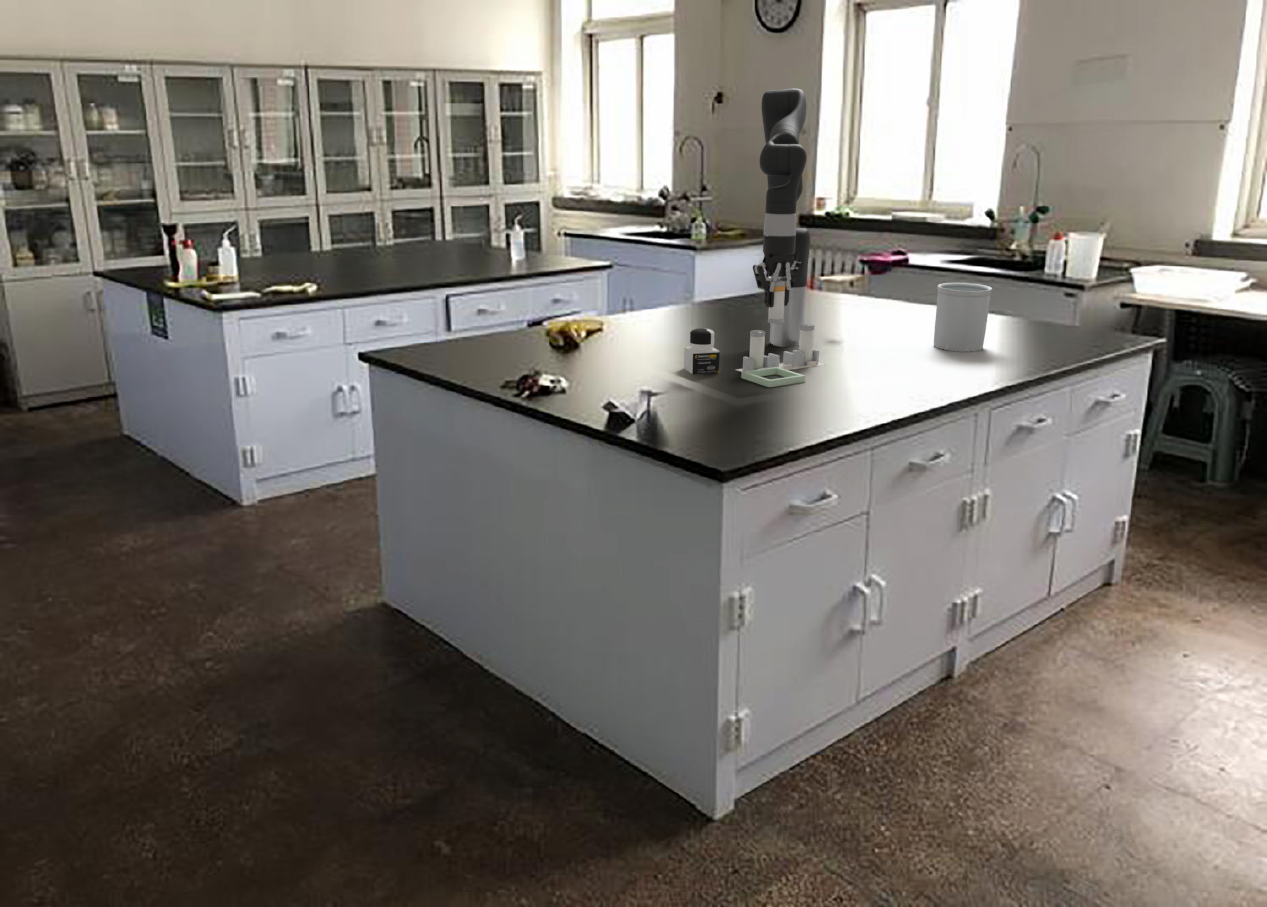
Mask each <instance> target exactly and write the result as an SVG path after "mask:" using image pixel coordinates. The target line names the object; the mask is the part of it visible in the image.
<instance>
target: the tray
mask: <svg viewBox="0 0 1267 907" xmlns="http://www.w3.org/2000/svg"><path fill="white" fill-rule="evenodd" d="M740 375H741V376H740V378H741V379H743V380H746V381H749V382H752V383H755V384H758V385H761V386H763V387H766V388H773V387H780V386H786V385H792V384H793V385H795V384H800V383H805V382H806V375H805V374H801V373H797V372H795V371H793V370H792V371H791V370H785V369H782V368H779V367H772V368H765V369H758V370H751V371H744V372H741V374H740ZM773 375H777V376H780V378H779V377H778V378H773V379H769V378H766V377H765V376H773Z"/></svg>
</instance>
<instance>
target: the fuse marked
mask: <svg viewBox="0 0 1267 907" xmlns="http://www.w3.org/2000/svg"><path fill="white" fill-rule="evenodd" d="M785 282H786V281H784V280H777V282H776V283H775V286H774V290H773V291H772V292H774V305H773V307H768V314H767V315H768V318H767V323H769V324H770V323H772V324H781V323H784V298H785Z"/></svg>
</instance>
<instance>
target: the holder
mask: <svg viewBox="0 0 1267 907" xmlns="http://www.w3.org/2000/svg"><path fill="white" fill-rule="evenodd" d="M767 354H768V355H765V354H764V366H763V367H764V368H760V369H765V368H772V367H779V368H782V369H785V370H789V371H791V370H792V371H793V370H798V369H805V368H811V367H813V368H814V367H819V366H826V365H827V364H825V363H821V362H819V358H820V350H819V349H814V348H813V359H812V360H813V361H810V362H807V365H803V364H804V352H801V351H799V350H797V349H794V350H792V352H791V351H786V350H785V351H783V358H782V359H783V360H782V361H783V362H781V363H780V358H781V357H780V355H779V354H775V353H771V352H770V353H767ZM751 370H754V359H752V358H750V356H749V357H748V356H743V357H742V368H738V369H736V368H735V371H738V372H744V371H751Z"/></svg>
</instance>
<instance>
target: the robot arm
mask: <svg viewBox="0 0 1267 907" xmlns="http://www.w3.org/2000/svg"><path fill="white" fill-rule="evenodd" d="M806 98H807V97H806V94H805V93H804V91H803V90H802V89H799V88H784V89H773V90H771V89H770V90H767V91H765V92H764V93H763V95H762V98H761V117H762V125H763V131H764V132H763V133H764V140H765V145H764V146H763V148H762V150H761V152H760V156H759V168H760V170H761V171H762V173H763V174H765V175H766V179H767V191H766V194H765V195H766V196H765V215H764V219H763V220H764V221H763V239H762V253H763V259H762V260H761V263H759V264H753V265H752V271H753V274H754V279H755V282H756V286H757V288H758V289H759V290H763V291H764V301H763V303H764V305H765V307H767V308H769V307H773V305H774V292H772V291H773V290H774V286H775V283H776V282H777V280H784V281H786V282H785V298H784V323H781V324H772V323H769V325H770V326H769V327H770V328H769V343H770V344H771V345H772V344H773V345H772V346H775V347H778V348H779V347H780V348H783V347H784V348H785V347H792V346H793V347H794V346H799V340H800V325H803V324H806V307H807V306H806V305H807V304H806V303H807V286H808V270H809V258H810V251H811V250H810V249H811V233H810V231H809V229H807V228H804V227H802V228H801V227H797V218H796V217H797V216H796V215H797V214H796V213H797V201H798V200H799V199H800V197H801V195H802V193H803V187H804V186H803V184H804V183H803V174H804V171H805V167H806V164H807V159H808V157H807V151H806V148H804V147H803V146H802V145H801V144H800V135H801V132H802V130H803V126H804V125H805V123H806V122H805V121H806V119H807V118H806V117H807V100H806Z"/></svg>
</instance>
